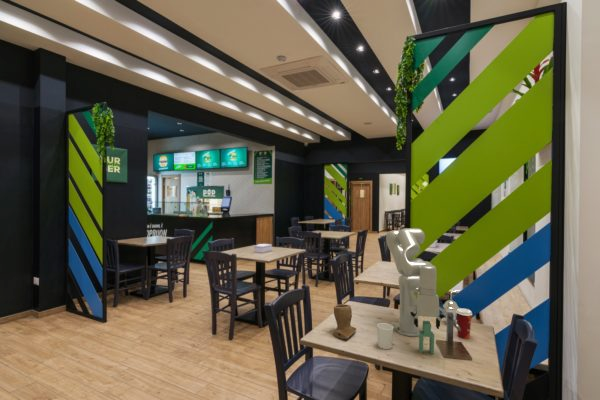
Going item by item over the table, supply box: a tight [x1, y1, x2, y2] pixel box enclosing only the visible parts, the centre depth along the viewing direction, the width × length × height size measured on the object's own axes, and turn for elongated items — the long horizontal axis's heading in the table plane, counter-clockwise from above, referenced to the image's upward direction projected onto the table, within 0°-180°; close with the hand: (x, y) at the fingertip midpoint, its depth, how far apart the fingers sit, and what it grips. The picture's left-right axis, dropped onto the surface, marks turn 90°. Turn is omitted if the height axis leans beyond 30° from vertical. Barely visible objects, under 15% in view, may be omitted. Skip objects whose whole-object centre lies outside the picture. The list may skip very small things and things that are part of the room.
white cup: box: [376, 322, 394, 350], centre depth 160 cm, size 8×8×10 cm
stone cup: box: [332, 303, 357, 340], centre depth 173 cm, size 15×12×15 cm
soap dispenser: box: [442, 289, 461, 327], centre depth 188 cm, size 8×9×20 cm
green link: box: [418, 320, 435, 355], centre depth 155 cm, size 6×4×14 cm, turn 80°
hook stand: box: [435, 312, 473, 361], centre depth 155 cm, size 12×17×16 cm
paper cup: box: [456, 307, 473, 340], centre depth 172 cm, size 8×8×14 cm
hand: (426, 326), depth 154 cm, fingers open, 9 cm apart
